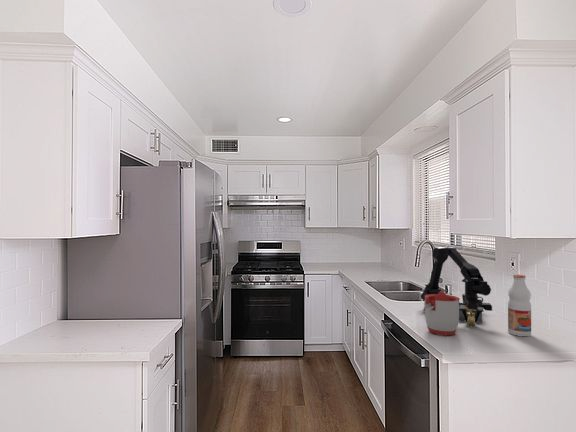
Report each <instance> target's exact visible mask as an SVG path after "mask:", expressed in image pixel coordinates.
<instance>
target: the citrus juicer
mask: <svg viewBox="0 0 576 432" xmlns="http://www.w3.org/2000/svg"><path fill="white" fill-rule="evenodd" d="M459 302H460V297H459V296H454V295H451V294H450V295H449V294H446V292H445V291H443V290H441V291H440V292H439V293H438V294H428V295H425V306H423V310H424V309H425V310H424V315H425V318H424V319H425V322H426V324H427V325H426V326H427V330H428V331H429V333H432V334H435V335H440V336H441V335H442V336H443V337H444V336H453V335H455V334H456V332H457V330H458V326H459V322H460V320H459ZM442 336H441V337H442Z"/></svg>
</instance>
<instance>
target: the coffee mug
mask: <svg viewBox="0 0 576 432" xmlns="http://www.w3.org/2000/svg"><path fill="white" fill-rule="evenodd" d="M461 297H462V298H461V299H462V303H465V292H463V293H462V294H461ZM479 298H480V299H481V300H482V303H484V298H483V297H482V296H479V294H477V299H479Z"/></svg>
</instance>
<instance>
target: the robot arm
mask: <svg viewBox="0 0 576 432" xmlns="http://www.w3.org/2000/svg"><path fill="white" fill-rule="evenodd" d="M432 258H433V264H432V265H433V266H432V270H431V274H430V278H429V282H428V283H427V284H426V285H425V287H424V290H423V292H422V293H421V294H420V299H421V300H423V301H424V303H423V304H424V306H425V295H428V294H438V293H439V292H440V291H442V289H441V288H440V286H439V282H440V279H441V274H442V271H443V266H444V263H445V262H446V261H447V260H448V258H451V259H452V261H453V262H454V263H455V264H456V265H457V267H458V268H459V270H460V274H461V275H462V276H463V278H464V279H462V280H461V282H463V283H464V293H465V303H463V302H460V301H459V310H462V312H463V314H464V317H465V320H466V321H465V322H466V323H467V316H466V309H465V307H467V308H468V309H476V315H475V324H476V323H478V322H477V320H478V317H479V315H480V313H481V312H482V313H483V312H484V311H493V305H492V304H491V303H489V302H482V299H481V298H480V299H479V298H478V299H477V295H482V296H485V297H487V296H489V295H490V294H491V291H492V288H491V285H489V284H488V281H485V280H484V277H483V276H482V274H481V272H480V269H479V268H478V267H476V266H475V265H474V264H471V263H469V262H468V261H467V260H466V259H465V258H464V256H462V255H461V253H460V252H459V251H458V250H457V248H455V247H454V246H448V247H434V248H433V250H432ZM424 306H423V307H424ZM423 311H425V309H424V308H423Z"/></svg>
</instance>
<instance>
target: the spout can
mask: <svg viewBox="0 0 576 432" xmlns="http://www.w3.org/2000/svg"><path fill="white" fill-rule="evenodd" d="M466 326H467V327H476V323H475V313H473V311H470V313H467V322H466Z"/></svg>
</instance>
